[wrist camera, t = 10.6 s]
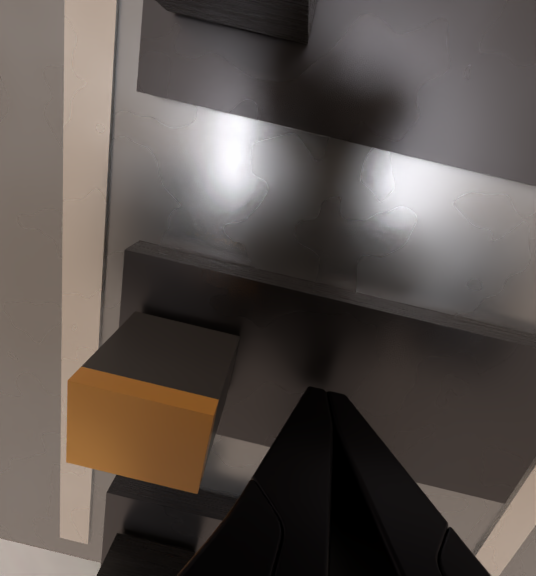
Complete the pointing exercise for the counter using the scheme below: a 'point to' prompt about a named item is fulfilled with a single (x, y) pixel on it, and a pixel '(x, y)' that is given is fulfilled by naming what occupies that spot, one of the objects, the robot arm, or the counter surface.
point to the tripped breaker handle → (151, 401)
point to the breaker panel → (272, 247)
